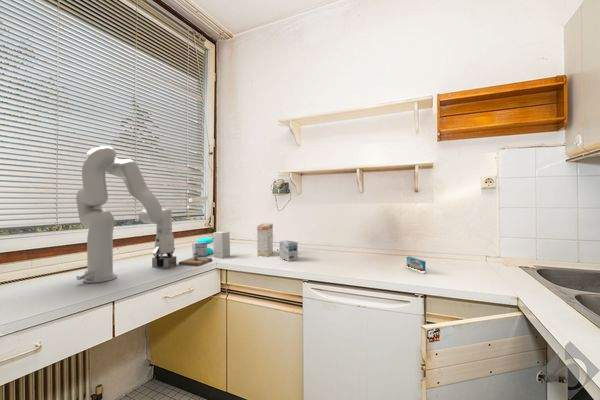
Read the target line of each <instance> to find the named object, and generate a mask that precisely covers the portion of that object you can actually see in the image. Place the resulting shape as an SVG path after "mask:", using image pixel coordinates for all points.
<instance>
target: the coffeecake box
mask: <svg viewBox="0 0 600 400" xmlns="http://www.w3.org/2000/svg"><path fill="white" fill-rule="evenodd" d="M273 228H274V226H273V223H267V222H266V223H261V224H258V225H257V226H256V234H257V235H256V239H257V241H256V243H257V246H256V250H257V253H256V255H257V257H259V256H268V255H269V256H270V255H271V254H273V252H274V248H273V247H274V242H273V241H274V236H273V234H274V229H273ZM269 256H268V257H269Z"/></svg>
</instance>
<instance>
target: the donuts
mask: <svg viewBox="0 0 600 400" xmlns="http://www.w3.org/2000/svg"><path fill="white" fill-rule="evenodd" d="M200 242H206V243H207V245H210V244H212V243H213V238H211V237H200V238H198V239H196V243H200ZM211 254H214V249H213V248H211V247H207V256H208V255H211Z"/></svg>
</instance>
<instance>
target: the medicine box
mask: <svg viewBox="0 0 600 400" xmlns="http://www.w3.org/2000/svg"><path fill="white" fill-rule="evenodd" d="M191 245H192V251H191V252H192V257H191V258H193V257H194V253H198V257H200V258H206V257H208V255H207V248H208V244H207V243H206V242H200V243H197V242H194V243H192V244H191Z"/></svg>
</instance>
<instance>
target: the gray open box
mask: <svg viewBox="0 0 600 400" xmlns="http://www.w3.org/2000/svg"><path fill="white" fill-rule="evenodd" d="M162 259H163V267H157V259H156V258H155V256H153V257H152V258H151V260H152V261H151V264H152V265H151V268H154V269H155V268H157V269H171V268H174V267H177V256H175V255H173V256H167V255H163V256H162Z"/></svg>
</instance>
